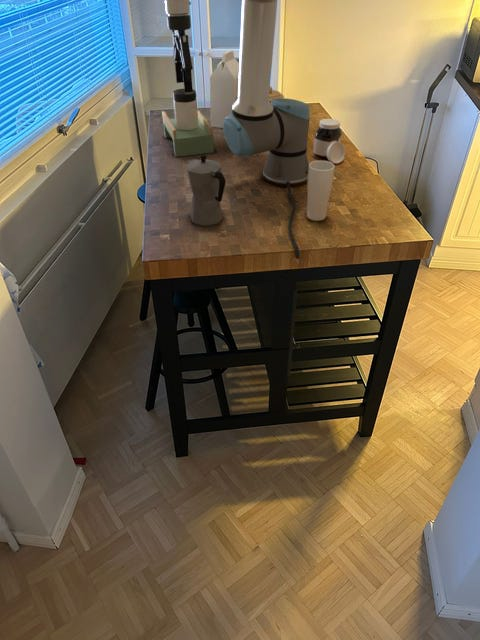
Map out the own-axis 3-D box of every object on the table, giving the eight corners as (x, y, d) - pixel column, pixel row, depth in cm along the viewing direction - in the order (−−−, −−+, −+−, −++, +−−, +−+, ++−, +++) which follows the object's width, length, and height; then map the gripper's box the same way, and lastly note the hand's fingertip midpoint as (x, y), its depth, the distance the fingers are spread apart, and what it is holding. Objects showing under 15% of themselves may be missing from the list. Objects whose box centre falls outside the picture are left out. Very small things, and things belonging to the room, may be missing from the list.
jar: (184, 132, 168) (181, 96, 160) (170, 127, 172) (166, 91, 165) (203, 126, 173) (201, 91, 165) (189, 121, 177) (186, 86, 169)
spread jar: (323, 149, 171) (326, 115, 164) (351, 156, 166) (356, 121, 159) (306, 160, 164) (309, 125, 156) (336, 167, 159) (340, 132, 151)
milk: (235, 130, 188) (234, 56, 171) (210, 126, 191) (206, 54, 174) (248, 121, 196) (248, 50, 179) (223, 117, 200) (221, 47, 183)
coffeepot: (179, 214, 134) (173, 152, 123) (206, 204, 139) (202, 143, 127) (211, 236, 125) (208, 170, 114) (239, 224, 130) (238, 160, 118)
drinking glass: (311, 225, 129) (317, 172, 119) (299, 214, 134) (303, 162, 124) (333, 220, 131) (340, 167, 121) (320, 209, 136) (326, 158, 126)
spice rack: (213, 152, 170) (212, 125, 164) (175, 156, 167) (173, 130, 161) (199, 132, 186) (198, 107, 180) (164, 136, 183) (161, 111, 177)
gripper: (198, 19, 142) (203, 95, 155) (181, 9, 160) (187, 77, 174) (174, 20, 140) (181, 97, 154) (159, 10, 158) (167, 79, 172)
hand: (184, 87), depth 164 cm, fingers open, 13 cm apart
